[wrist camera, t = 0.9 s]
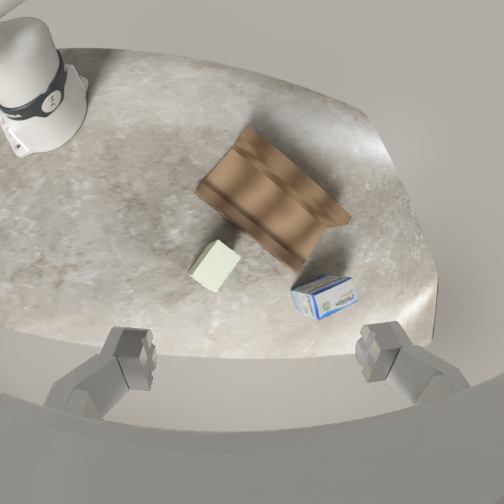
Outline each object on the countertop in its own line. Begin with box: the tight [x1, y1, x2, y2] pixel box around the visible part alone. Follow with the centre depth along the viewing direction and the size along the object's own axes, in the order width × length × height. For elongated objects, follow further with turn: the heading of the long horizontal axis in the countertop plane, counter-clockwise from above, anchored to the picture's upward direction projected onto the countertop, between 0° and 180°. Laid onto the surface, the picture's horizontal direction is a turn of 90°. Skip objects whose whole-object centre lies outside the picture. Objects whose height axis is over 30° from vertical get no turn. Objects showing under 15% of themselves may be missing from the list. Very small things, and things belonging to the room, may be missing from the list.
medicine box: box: [291, 275, 358, 320], centre depth 49 cm, size 8×4×9 cm, turn 109°
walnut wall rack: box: [194, 126, 352, 274], centre depth 47 cm, size 22×12×8 cm, turn 53°
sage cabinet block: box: [187, 240, 241, 293], centre depth 44 cm, size 4×6×8 cm, turn 143°
